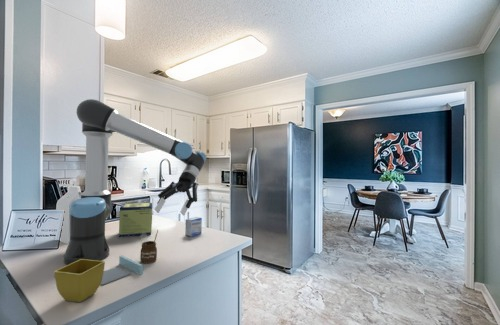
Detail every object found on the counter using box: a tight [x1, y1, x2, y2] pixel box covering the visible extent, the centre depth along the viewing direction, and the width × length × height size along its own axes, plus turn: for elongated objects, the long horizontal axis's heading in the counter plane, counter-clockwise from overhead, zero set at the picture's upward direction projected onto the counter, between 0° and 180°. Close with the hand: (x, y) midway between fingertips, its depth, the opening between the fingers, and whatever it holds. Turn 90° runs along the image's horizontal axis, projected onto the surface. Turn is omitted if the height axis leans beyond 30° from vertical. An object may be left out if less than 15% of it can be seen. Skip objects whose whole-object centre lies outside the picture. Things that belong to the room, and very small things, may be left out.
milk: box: [55, 185, 83, 245], centre depth 117 cm, size 12×12×26 cm
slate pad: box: [99, 266, 131, 287], centre depth 80 cm, size 9×9×1 cm
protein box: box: [118, 202, 153, 238], centre depth 127 cm, size 10×16×16 cm
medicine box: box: [184, 216, 203, 237], centre depth 128 cm, size 8×4×9 cm, turn 146°
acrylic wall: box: [118, 255, 144, 275], centre depth 86 cm, size 14×1×3 cm, turn 56°
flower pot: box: [53, 259, 106, 303], centre depth 68 cm, size 9×9×9 cm
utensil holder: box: [139, 229, 159, 264], centre depth 93 cm, size 6×6×12 cm
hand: (169, 212), depth 104 cm, fingers open, 13 cm apart
